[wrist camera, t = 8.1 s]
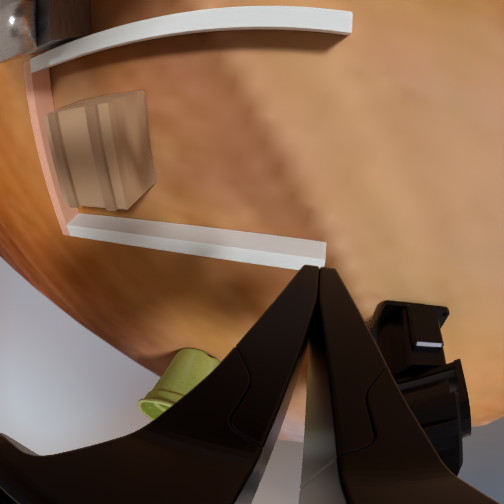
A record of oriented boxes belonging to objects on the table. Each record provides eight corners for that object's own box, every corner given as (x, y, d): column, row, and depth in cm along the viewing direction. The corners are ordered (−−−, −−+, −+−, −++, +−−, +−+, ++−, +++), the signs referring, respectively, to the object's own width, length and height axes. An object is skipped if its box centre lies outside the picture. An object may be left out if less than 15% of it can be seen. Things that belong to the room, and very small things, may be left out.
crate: (155, 182, 21) (124, 212, 18) (95, 180, 22) (62, 206, 19) (144, 89, 17) (104, 103, 14) (80, 100, 18) (40, 116, 15)
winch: (90, 37, 15) (17, 51, 10) (44, 55, 16) (-22, 75, 11) (90, -41, 11) (20, -46, 5) (42, -15, 12) (-23, -9, 6)
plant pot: (152, 335, 35) (122, 394, 28) (223, 340, 32) (197, 411, 25) (182, 376, 40) (161, 428, 33) (245, 383, 37) (228, 443, 30)
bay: (323, 255, 22) (322, 273, 21) (75, 223, 26) (63, 234, 24) (349, 16, 12) (352, 11, 10) (40, 58, 16) (22, 62, 14)
